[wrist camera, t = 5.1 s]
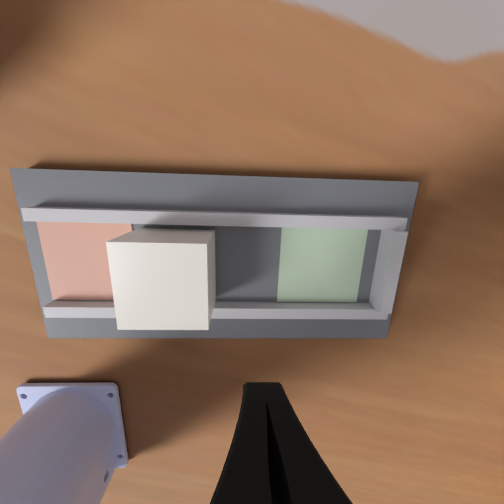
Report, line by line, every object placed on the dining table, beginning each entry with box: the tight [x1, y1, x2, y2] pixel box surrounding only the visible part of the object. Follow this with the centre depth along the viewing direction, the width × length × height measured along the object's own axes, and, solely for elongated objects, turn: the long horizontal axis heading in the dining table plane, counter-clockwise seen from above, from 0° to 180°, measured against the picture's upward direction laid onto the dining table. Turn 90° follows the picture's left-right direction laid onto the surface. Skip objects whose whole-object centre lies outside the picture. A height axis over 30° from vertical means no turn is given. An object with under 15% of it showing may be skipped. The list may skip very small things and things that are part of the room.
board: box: [10, 168, 419, 338], centre depth 17 cm, size 12×26×3 cm, turn 88°
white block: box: [106, 228, 216, 330], centre depth 15 cm, size 5×5×4 cm
